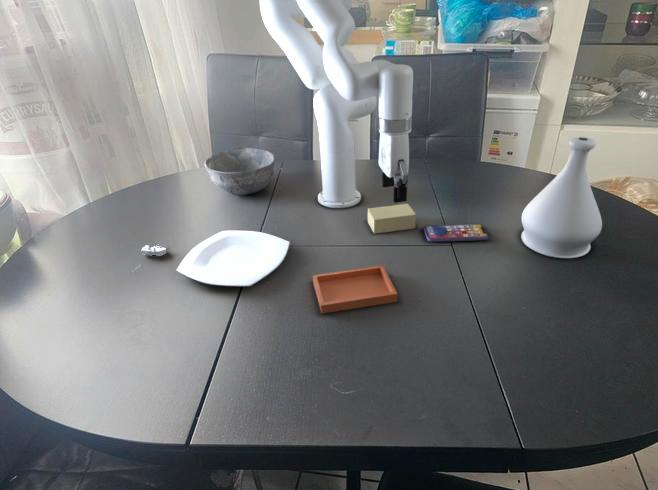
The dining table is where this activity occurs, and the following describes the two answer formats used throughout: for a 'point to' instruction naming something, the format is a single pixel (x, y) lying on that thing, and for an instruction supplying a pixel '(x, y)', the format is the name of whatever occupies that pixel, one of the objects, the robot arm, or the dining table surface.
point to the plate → (234, 258)
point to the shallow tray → (353, 289)
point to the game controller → (153, 250)
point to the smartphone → (455, 232)
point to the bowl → (241, 170)
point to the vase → (564, 209)
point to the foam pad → (391, 218)
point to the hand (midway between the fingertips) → (393, 193)
